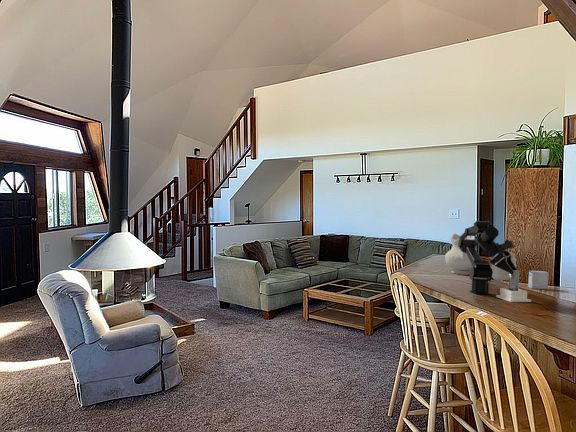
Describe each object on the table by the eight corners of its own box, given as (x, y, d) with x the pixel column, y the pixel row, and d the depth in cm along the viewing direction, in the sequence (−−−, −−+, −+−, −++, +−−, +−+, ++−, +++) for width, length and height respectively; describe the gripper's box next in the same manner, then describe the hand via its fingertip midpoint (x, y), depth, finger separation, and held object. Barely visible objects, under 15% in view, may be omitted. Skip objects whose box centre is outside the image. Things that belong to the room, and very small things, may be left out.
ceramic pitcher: (484, 278, 258) (489, 236, 257) (450, 275, 258) (456, 232, 257) (469, 273, 279) (474, 234, 278) (438, 269, 279) (443, 230, 279)
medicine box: (543, 288, 227) (544, 271, 227) (548, 289, 223) (549, 272, 223) (527, 287, 228) (528, 270, 228) (531, 288, 224) (532, 271, 223)
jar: (518, 281, 245) (520, 249, 245) (493, 279, 248) (495, 248, 247) (511, 277, 258) (513, 247, 258) (488, 276, 261) (489, 246, 260)
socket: (510, 301, 190) (510, 291, 190) (495, 296, 200) (496, 287, 200) (531, 301, 192) (531, 291, 192) (515, 296, 202) (516, 287, 201)
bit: (511, 298, 194) (513, 271, 193) (505, 296, 198) (507, 269, 197) (520, 298, 194) (521, 271, 194) (514, 296, 198) (515, 269, 198)
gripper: (499, 234, 191) (526, 262, 185) (507, 233, 206) (532, 259, 200) (479, 251, 196) (505, 278, 189) (488, 248, 211) (512, 274, 204)
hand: (514, 272), depth 196 cm, fingers open, 9 cm apart
